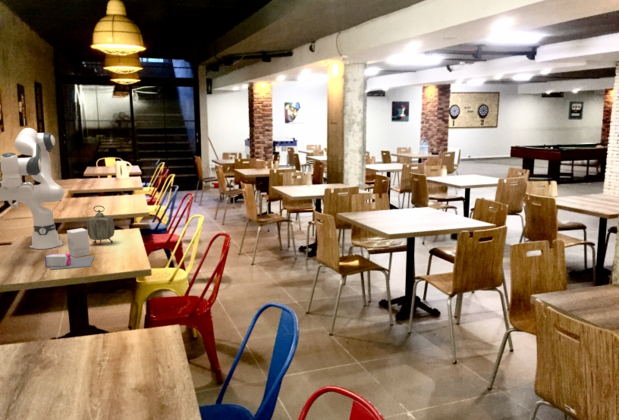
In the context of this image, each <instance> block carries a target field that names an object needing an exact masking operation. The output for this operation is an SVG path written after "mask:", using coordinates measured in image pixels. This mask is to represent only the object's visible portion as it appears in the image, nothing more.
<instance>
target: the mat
mask: <svg viewBox="0 0 619 420" xmlns="http://www.w3.org/2000/svg"><path fill="white" fill-rule="evenodd" d="M94 259H95V256H94V255H93V256H81V257H76V258H75V257H71V264H69V265H68V266H50V268H49V270H50V271H53V270H54V271H55V270H56V271H57V270H65V269H66V270H67V269H69V270H70V269H78V268H79V269H80V268H91V266H92V263H93V261H94Z"/></svg>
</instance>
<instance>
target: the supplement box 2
mask: <svg viewBox="0 0 619 420" xmlns="http://www.w3.org/2000/svg"><path fill="white" fill-rule="evenodd" d="M66 235H67V244H68V245H67V246H68V254H70V257H72V258H79V257H87V256H90V255H91V252H90V251H91V250H90V249H91V248H90V241H89V239H90V238H89V236H88V230H87V229H85V228H83V227H81V228H75V229H74V228H73V229H69V230H66Z"/></svg>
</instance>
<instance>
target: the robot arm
mask: <svg viewBox="0 0 619 420" xmlns="http://www.w3.org/2000/svg"><path fill="white" fill-rule="evenodd" d="M55 145H56V139H55V136H54V135H53V134H52V133H51V132H37V131H36V130H35V129H34V128H32V127H25V128H23V129H21V130H20V132H19V133H18V134H17V136H16V138H15V141H14V147H15V149H16V151H17V152H18V153H20V154H22V155H25V156H31V157H18V154H17V153H15V152H5V153H2V154H1V155H0V171H1V173H2V176H1V180H0V202H5V201H6V202H8V204H9V205H10V207H11V209H19V204H20V203H23V204H24V205H25V206H26V207H27V208H29V210H30V212H31V215H32V220H33V228H32V229H33V232H32V234H31V245H29V248H30V249H35V250H45V249H52V248H57V247H62V246H63V245H64V243H63V239H62V238H60V237H59V233H58V231H57V230H56V223H55V222H54V221H55V220H54V212H53V211H52V210H51V209H50V208H47V207H44V206H43V205H42V203H43V204H44V203H54V202H59V201H62V199H63V198H64V197H65V196H64V195H65V191H64V189H63V186H61V185H60V184H58V183H56V182H55V181H54V179H53V177H52V169H51V168H52V164H51V163H52V162H51V161H52V160H51V156H50V153H51V152H52V151H53V149H54V148H55ZM21 176H31V178H32V180H34V181H35V182H38V183H40V184H33V183H31V182H22V179H21ZM13 201H16V204H14V203H13Z"/></svg>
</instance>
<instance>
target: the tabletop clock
mask: <svg viewBox="0 0 619 420" xmlns="http://www.w3.org/2000/svg"><path fill="white" fill-rule="evenodd" d="M98 207H99V208H100V207H101V208H103V210H101V209H98V210H96V209H95V208H98ZM92 209H93V211H94V212H95V215H94V216H92V217H91V218H90V217H89V218H87V222H86V230H88V239H90V240H93V244H96V243H97V241H99V246H102V245H103V243H102V241H104V240H105V241H106V240H109V241H110V243H111V244H112V243H114V240H112V239H111V238H112V237H114V235H115V221H114V217H112V216H111V215H105V214H104V213H103V212H104V211H105V210H106V209H105V207H104V206H102V205H95V206H93V208H92Z"/></svg>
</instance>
